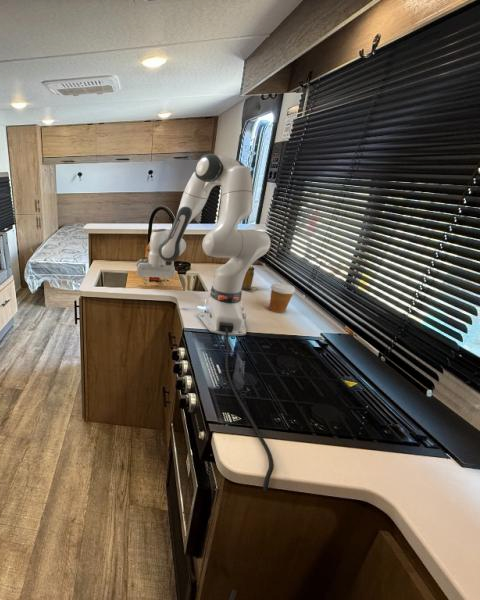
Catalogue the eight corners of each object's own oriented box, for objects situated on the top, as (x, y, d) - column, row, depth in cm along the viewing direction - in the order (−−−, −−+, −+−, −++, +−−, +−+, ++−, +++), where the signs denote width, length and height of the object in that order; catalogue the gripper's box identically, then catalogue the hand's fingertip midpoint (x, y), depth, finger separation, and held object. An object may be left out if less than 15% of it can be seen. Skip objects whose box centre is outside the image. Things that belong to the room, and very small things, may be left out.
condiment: (241, 284, 174) (245, 264, 169) (256, 288, 168) (261, 268, 163) (235, 287, 170) (239, 267, 165) (250, 292, 164) (255, 270, 159)
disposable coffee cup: (261, 309, 144) (268, 285, 139) (270, 304, 150) (276, 281, 145) (284, 316, 137) (291, 291, 133) (291, 310, 143) (299, 286, 138)
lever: (159, 281, 167) (159, 278, 165) (149, 280, 168) (150, 278, 166) (159, 262, 174) (160, 259, 172) (150, 262, 175) (151, 259, 173)
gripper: (136, 260, 161) (134, 285, 166) (177, 262, 157) (173, 287, 163) (136, 257, 166) (135, 281, 172) (175, 259, 163) (172, 283, 168)
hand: (154, 284), depth 167 cm, fingers open, 8 cm apart
